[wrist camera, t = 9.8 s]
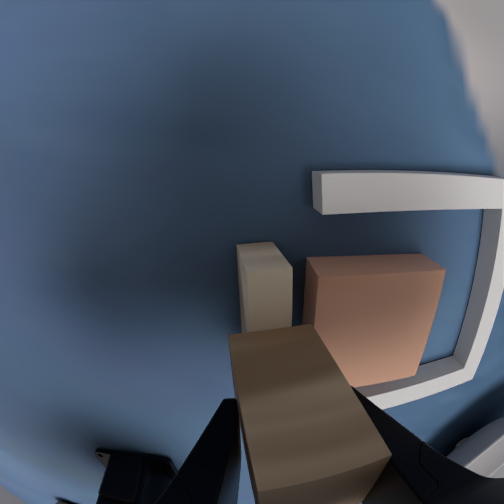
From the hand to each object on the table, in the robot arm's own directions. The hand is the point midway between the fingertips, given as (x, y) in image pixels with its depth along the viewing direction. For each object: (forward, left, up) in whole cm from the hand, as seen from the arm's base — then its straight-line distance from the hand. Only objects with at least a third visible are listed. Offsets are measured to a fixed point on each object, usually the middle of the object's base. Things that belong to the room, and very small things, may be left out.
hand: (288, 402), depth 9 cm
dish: (-20, -20, -6) cm, 29 cm away
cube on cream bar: (0, +1, -5) cm, 5 cm away
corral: (0, -7, -5) cm, 9 cm away
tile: (0, -4, -6) cm, 7 cm away
